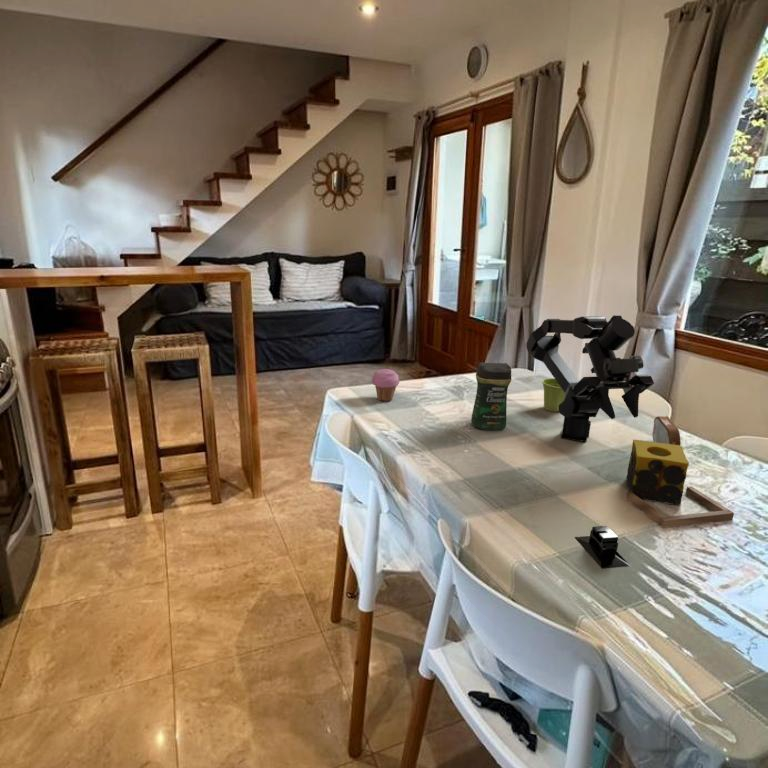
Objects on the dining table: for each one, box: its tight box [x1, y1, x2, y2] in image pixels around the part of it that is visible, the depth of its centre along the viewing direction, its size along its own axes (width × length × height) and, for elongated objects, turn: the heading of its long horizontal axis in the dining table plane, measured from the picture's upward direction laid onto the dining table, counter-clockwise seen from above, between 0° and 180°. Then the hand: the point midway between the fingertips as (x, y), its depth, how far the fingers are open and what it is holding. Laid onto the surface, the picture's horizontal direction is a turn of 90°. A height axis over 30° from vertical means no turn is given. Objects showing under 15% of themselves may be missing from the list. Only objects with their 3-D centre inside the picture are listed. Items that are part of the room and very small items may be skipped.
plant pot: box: [541, 377, 565, 413], centre depth 166 cm, size 9×9×9 cm
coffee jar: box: [470, 362, 512, 431], centre depth 149 cm, size 10×8×19 cm
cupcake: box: [371, 368, 400, 402], centre depth 169 cm, size 9×9×10 cm
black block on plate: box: [573, 525, 631, 570], centre depth 95 cm, size 12×7×5 cm, turn 9°
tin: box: [652, 415, 682, 446], centre depth 137 cm, size 15×3×8 cm, turn 168°
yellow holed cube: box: [626, 439, 690, 506], centre depth 116 cm, size 10×10×10 cm
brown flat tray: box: [625, 485, 735, 528], centre depth 110 cm, size 11×16×2 cm
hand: (625, 417), depth 125 cm, fingers open, 6 cm apart
